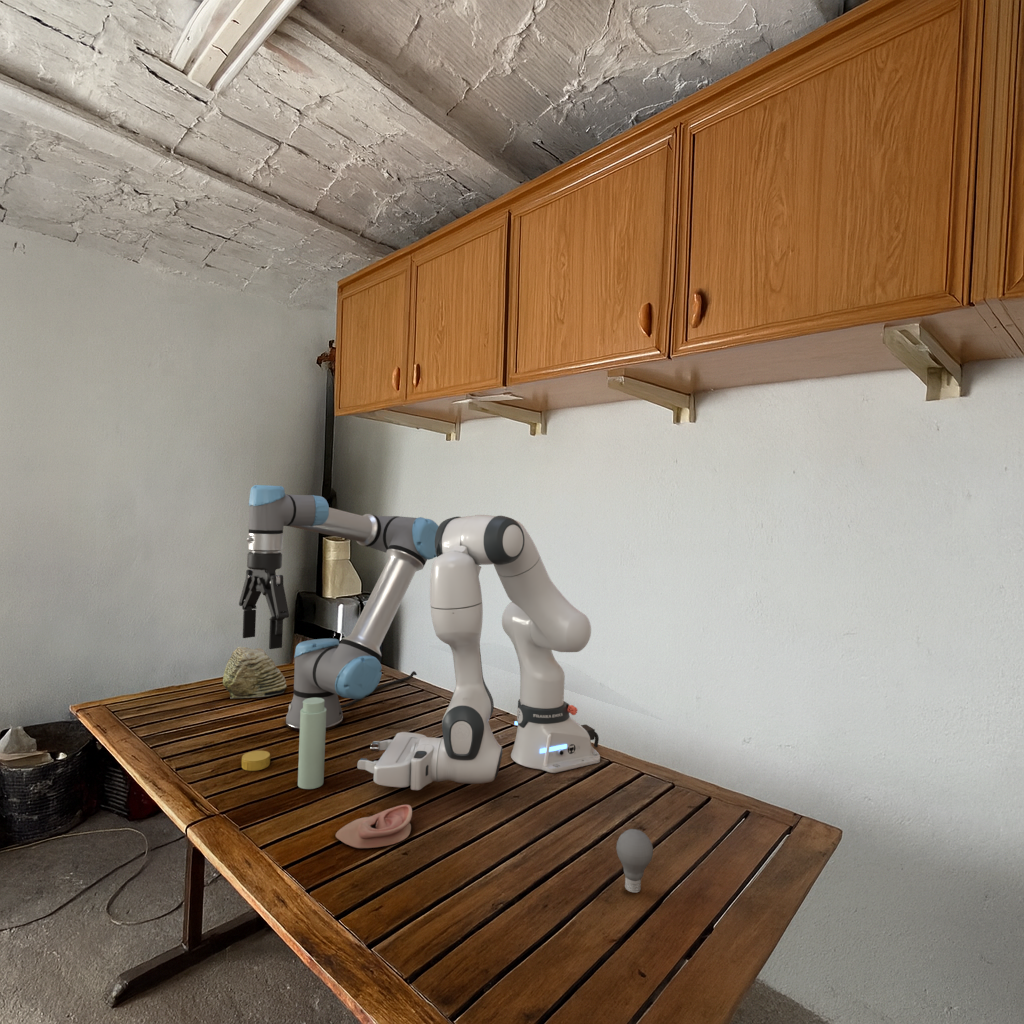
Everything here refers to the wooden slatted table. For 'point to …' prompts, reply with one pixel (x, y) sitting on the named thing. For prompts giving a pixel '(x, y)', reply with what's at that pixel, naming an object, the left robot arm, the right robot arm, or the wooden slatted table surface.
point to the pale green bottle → (312, 744)
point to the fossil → (252, 674)
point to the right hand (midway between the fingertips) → (365, 754)
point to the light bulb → (634, 857)
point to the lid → (255, 760)
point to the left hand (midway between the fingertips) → (261, 642)
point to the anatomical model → (378, 828)
